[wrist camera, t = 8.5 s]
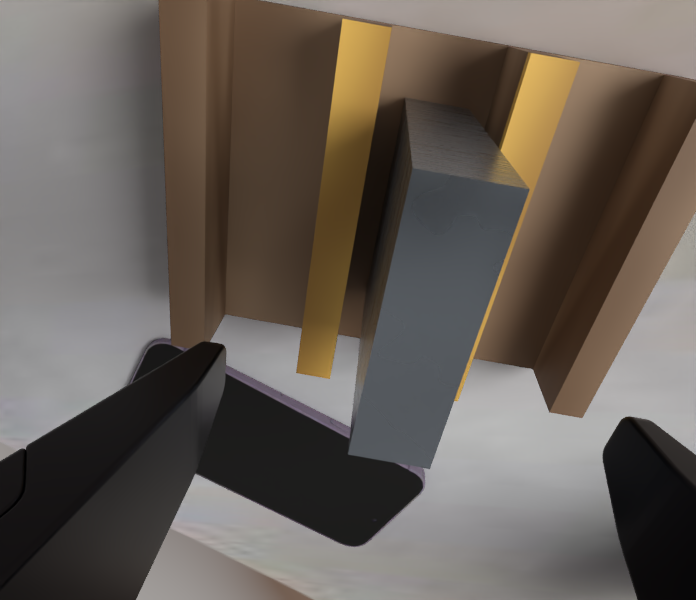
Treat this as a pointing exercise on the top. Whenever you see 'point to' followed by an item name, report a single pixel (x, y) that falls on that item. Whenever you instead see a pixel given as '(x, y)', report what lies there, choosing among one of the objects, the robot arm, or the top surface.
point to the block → (430, 278)
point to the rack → (374, 168)
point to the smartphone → (295, 459)
